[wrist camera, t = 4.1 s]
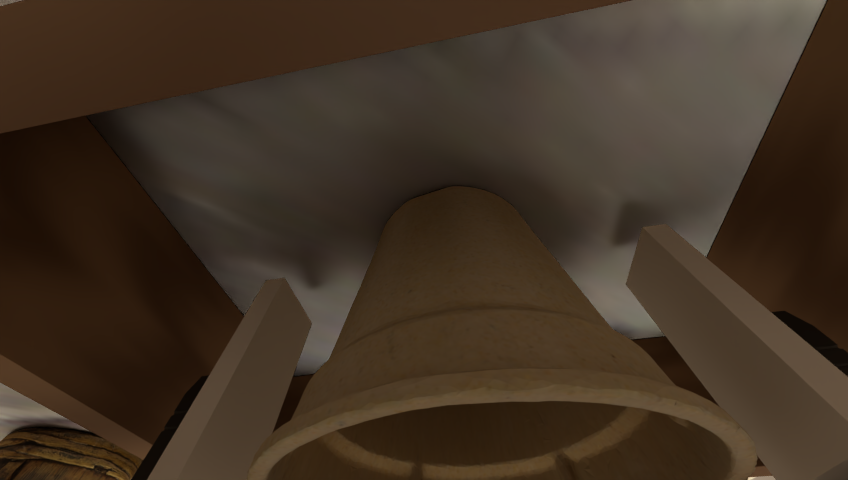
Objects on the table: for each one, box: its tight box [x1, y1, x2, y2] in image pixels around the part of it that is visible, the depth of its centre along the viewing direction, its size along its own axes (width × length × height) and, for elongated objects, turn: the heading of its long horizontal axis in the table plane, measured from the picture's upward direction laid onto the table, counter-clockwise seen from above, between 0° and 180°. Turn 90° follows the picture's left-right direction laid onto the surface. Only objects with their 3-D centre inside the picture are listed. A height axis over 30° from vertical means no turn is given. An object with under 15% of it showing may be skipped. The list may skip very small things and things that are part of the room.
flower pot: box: [247, 186, 758, 480], centre depth 10 cm, size 9×9×9 cm
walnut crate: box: [0, 0, 848, 477], centre depth 11 cm, size 18×24×6 cm
